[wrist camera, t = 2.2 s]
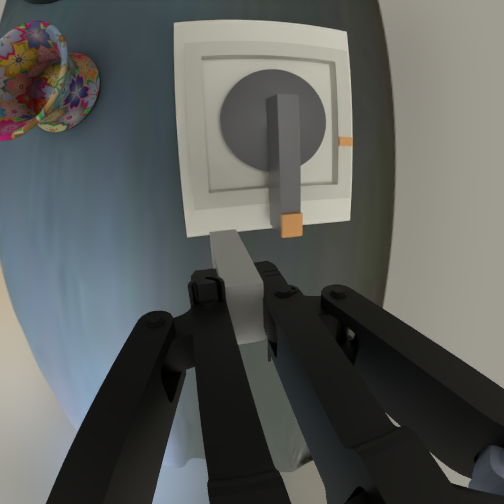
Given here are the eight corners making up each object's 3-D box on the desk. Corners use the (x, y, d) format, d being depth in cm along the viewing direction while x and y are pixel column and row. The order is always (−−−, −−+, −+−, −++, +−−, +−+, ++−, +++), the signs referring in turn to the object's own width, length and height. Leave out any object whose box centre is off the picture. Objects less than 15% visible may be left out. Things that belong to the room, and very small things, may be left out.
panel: (174, 26, 21) (173, 16, 19) (341, 34, 25) (354, 27, 22) (187, 233, 30) (187, 243, 27) (344, 217, 33) (357, 225, 31)
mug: (109, 44, 21) (74, 5, 11) (105, 128, 24) (62, 126, 15) (15, 69, 18) (-41, 55, 9) (11, 147, 22) (-48, 159, 12)
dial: (217, 72, 23) (224, 57, 18) (317, 75, 25) (343, 65, 20) (226, 223, 29) (234, 243, 24) (319, 215, 31) (343, 231, 26)
